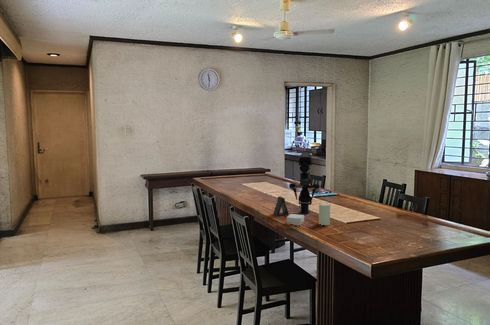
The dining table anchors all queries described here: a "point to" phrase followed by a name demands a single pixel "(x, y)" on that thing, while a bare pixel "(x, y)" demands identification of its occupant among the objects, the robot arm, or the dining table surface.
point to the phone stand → (278, 206)
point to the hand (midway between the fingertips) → (304, 200)
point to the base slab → (294, 223)
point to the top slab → (295, 218)
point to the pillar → (324, 214)
